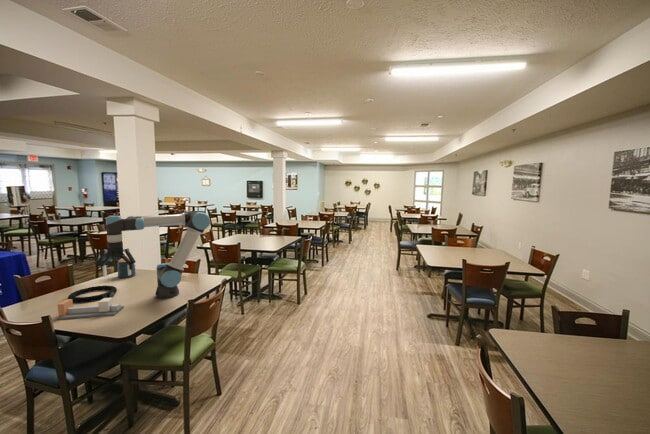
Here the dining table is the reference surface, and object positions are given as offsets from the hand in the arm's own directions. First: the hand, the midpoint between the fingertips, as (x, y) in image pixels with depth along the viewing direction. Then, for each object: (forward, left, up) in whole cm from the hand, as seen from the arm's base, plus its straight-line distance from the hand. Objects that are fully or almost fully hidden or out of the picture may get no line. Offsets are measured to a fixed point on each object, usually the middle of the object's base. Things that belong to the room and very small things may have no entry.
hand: (117, 275), depth 180 cm
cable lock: (+30, -33, -23) cm, 50 cm away
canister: (+29, -80, -23) cm, 88 cm away
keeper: (+7, 0, -21) cm, 22 cm away
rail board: (+15, 0, -23) cm, 27 cm away
